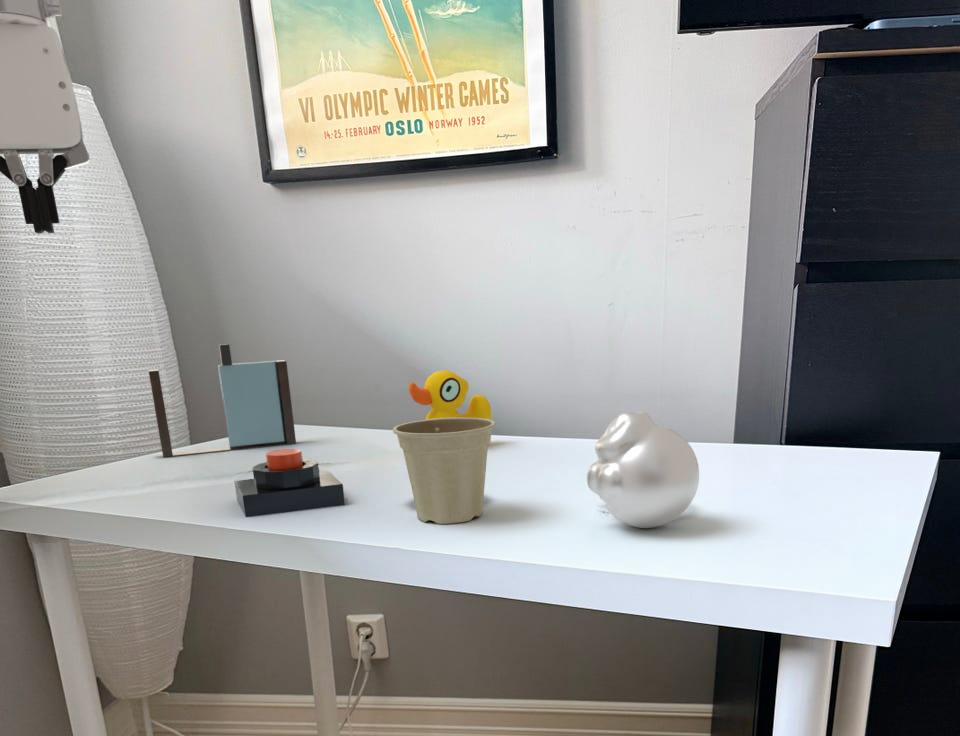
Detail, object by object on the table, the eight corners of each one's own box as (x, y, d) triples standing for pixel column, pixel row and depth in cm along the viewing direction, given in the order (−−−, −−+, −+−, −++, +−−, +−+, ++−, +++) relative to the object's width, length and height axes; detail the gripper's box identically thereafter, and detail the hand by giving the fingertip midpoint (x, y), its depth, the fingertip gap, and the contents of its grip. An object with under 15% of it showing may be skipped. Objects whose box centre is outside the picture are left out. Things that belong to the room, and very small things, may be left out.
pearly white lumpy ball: (606, 510, 87) (606, 402, 84) (706, 517, 84) (711, 403, 80) (574, 535, 80) (572, 418, 76) (683, 543, 76) (687, 420, 72)
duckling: (423, 456, 118) (417, 375, 114) (405, 451, 122) (399, 372, 118) (500, 445, 123) (497, 367, 119) (480, 440, 127) (477, 365, 123)
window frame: (165, 468, 119) (148, 371, 114) (164, 465, 121) (148, 370, 116) (297, 454, 124) (286, 360, 119) (295, 451, 126) (284, 359, 121)
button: (270, 474, 93) (268, 456, 93) (265, 468, 96) (263, 451, 96) (306, 470, 94) (304, 452, 94) (300, 464, 97) (298, 447, 97)
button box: (245, 517, 92) (239, 477, 90) (237, 501, 99) (231, 463, 97) (345, 505, 95) (341, 466, 93) (329, 490, 102) (326, 453, 100)
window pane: (231, 447, 121) (216, 345, 116) (230, 445, 122) (215, 344, 117) (284, 441, 123) (272, 341, 118) (283, 440, 124) (271, 341, 119)
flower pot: (382, 516, 90) (374, 425, 86) (464, 500, 94) (460, 413, 91) (432, 535, 82) (425, 437, 79) (518, 517, 87) (515, 423, 84)
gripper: (89, 24, 89) (125, 232, 96) (-84, 19, 85) (-34, 237, 92) (86, 3, 83) (125, 227, 90) (-102, -4, 78) (-47, 233, 85)
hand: (44, 232), depth 91 cm, fingers closed
